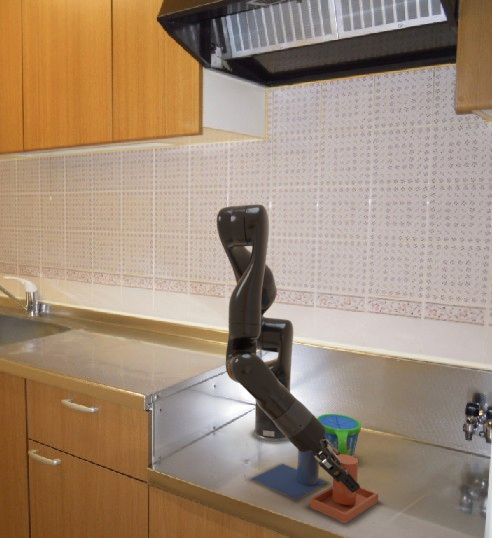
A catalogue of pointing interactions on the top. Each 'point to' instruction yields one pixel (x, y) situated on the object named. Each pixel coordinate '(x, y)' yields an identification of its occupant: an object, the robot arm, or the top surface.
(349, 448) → the snack cup
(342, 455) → the terracotta cylinder
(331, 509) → the terracotta tray
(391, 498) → the top surface
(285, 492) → the blue mat
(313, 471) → the blue cylinder
